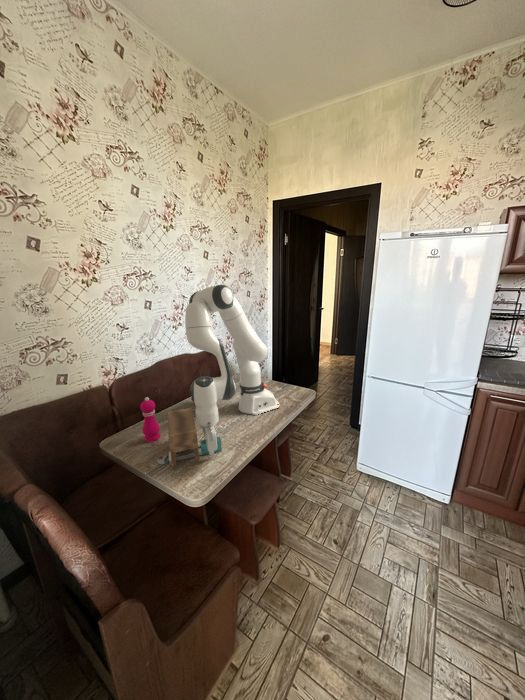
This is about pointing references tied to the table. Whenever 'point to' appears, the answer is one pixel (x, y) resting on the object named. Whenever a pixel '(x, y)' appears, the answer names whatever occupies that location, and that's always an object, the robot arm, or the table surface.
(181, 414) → the wooden bench
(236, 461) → the table surface
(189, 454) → the block
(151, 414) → the pepper mill
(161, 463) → the silver flat dome
